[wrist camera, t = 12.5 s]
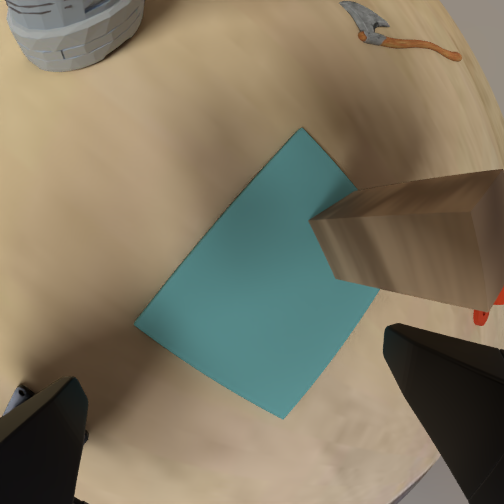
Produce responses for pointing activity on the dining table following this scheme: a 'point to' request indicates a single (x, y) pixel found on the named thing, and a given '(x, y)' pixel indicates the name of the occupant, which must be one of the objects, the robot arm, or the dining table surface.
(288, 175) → the mat
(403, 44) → the axe
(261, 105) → the dining table surface
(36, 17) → the canister
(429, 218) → the walnut block
